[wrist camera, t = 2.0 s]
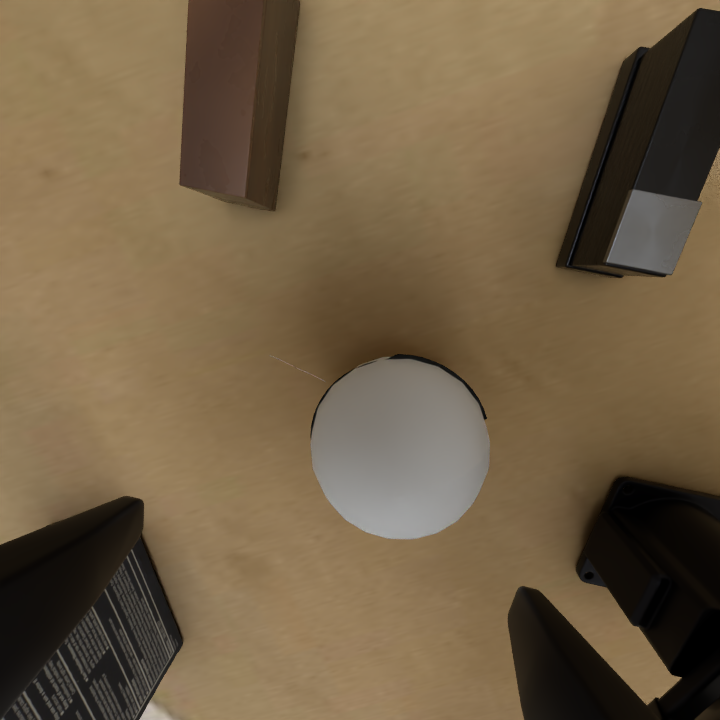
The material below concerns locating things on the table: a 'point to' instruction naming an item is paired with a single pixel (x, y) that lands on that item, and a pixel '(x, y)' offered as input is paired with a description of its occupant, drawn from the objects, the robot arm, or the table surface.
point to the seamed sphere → (400, 446)
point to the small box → (108, 653)
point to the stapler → (651, 157)
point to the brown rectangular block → (237, 98)
